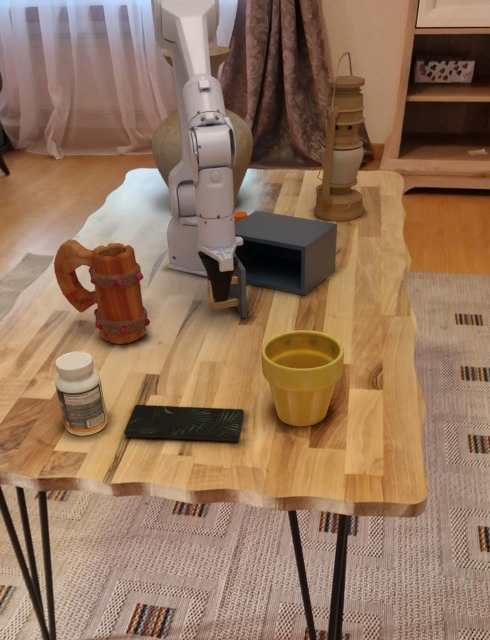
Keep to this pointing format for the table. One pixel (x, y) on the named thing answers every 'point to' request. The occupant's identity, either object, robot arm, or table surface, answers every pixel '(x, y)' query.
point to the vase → (168, 134)
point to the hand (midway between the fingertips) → (220, 297)
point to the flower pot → (302, 374)
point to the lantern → (341, 150)
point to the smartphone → (185, 423)
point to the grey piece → (232, 292)
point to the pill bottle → (80, 394)
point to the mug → (105, 288)
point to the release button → (239, 215)
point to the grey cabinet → (286, 251)
